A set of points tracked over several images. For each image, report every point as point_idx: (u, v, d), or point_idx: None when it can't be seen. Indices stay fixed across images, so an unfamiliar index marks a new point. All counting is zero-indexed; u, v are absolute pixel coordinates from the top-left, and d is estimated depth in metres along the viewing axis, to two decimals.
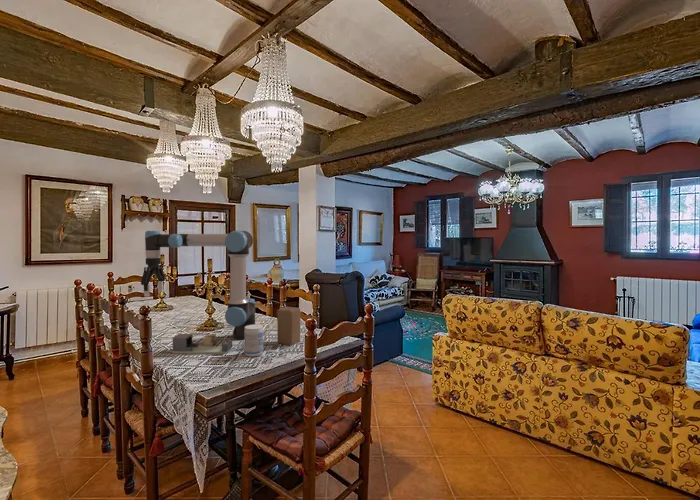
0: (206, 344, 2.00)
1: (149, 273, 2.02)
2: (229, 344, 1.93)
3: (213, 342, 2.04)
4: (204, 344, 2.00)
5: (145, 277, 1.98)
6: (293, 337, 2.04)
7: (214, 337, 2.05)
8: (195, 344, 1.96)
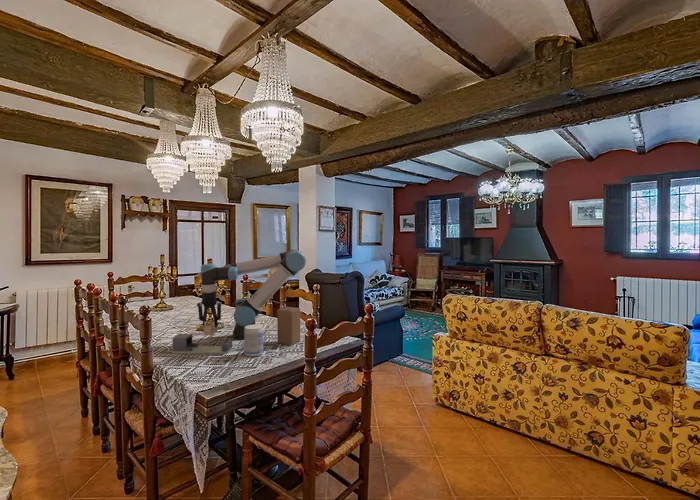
0: (207, 332, 1.99)
1: None
2: (229, 344, 1.93)
3: None
4: (205, 332, 1.99)
5: None
6: (293, 337, 2.04)
7: None
8: (195, 344, 1.96)
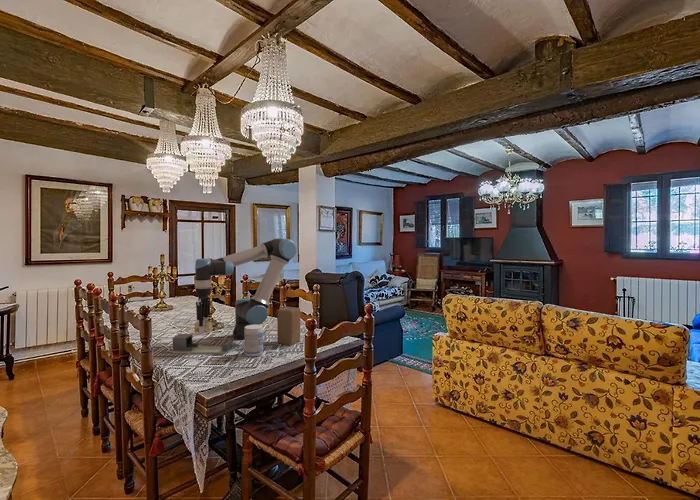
0: (210, 328, 1.93)
1: (201, 306, 1.90)
2: (229, 344, 1.93)
3: None
4: (210, 329, 1.92)
5: (199, 313, 1.86)
6: (293, 337, 2.04)
7: None
8: (195, 344, 1.96)
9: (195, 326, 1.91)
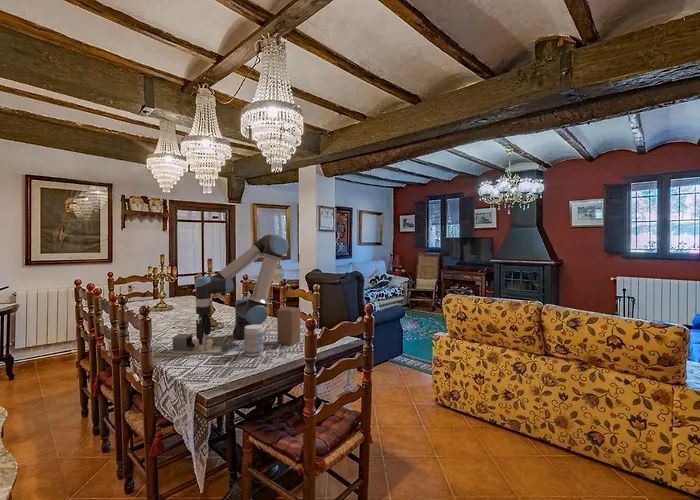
0: (211, 346, 1.93)
1: (201, 324, 1.90)
2: (229, 344, 1.93)
3: None
4: (210, 346, 1.92)
5: (199, 331, 1.87)
6: (293, 337, 2.04)
7: None
8: None
9: (195, 343, 1.91)
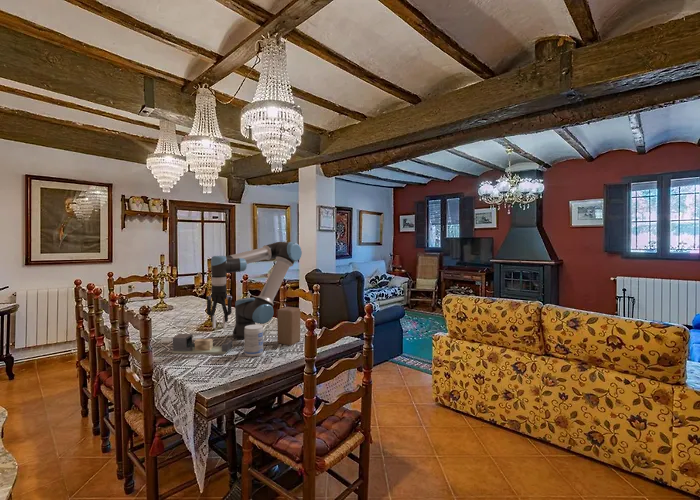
0: (211, 346, 1.93)
1: None
2: (229, 344, 1.93)
3: None
4: (210, 346, 1.92)
5: None
6: (293, 337, 2.04)
7: None
8: None
9: (195, 343, 1.91)
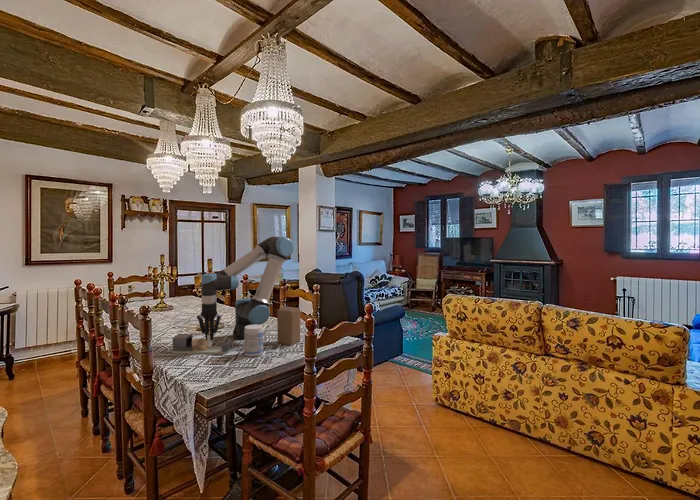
0: None
1: None
2: (229, 344, 1.93)
3: None
4: None
5: None
6: (293, 337, 2.04)
7: None
8: None
9: (192, 344, 1.91)
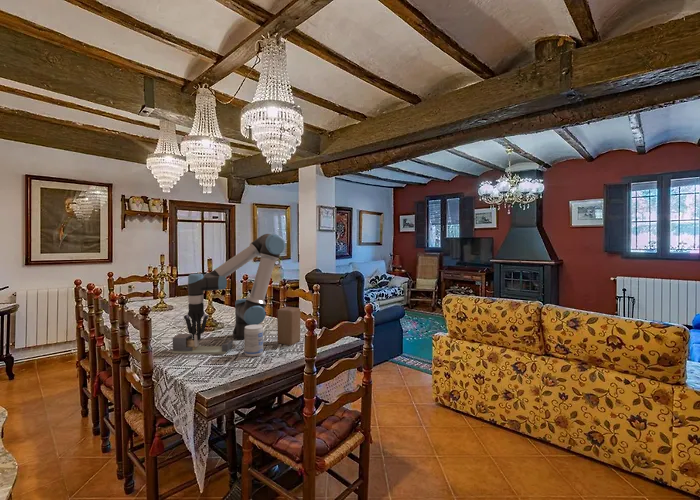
0: None
1: None
2: (229, 344, 1.93)
3: None
4: None
5: None
6: (293, 337, 2.04)
7: None
8: None
9: None
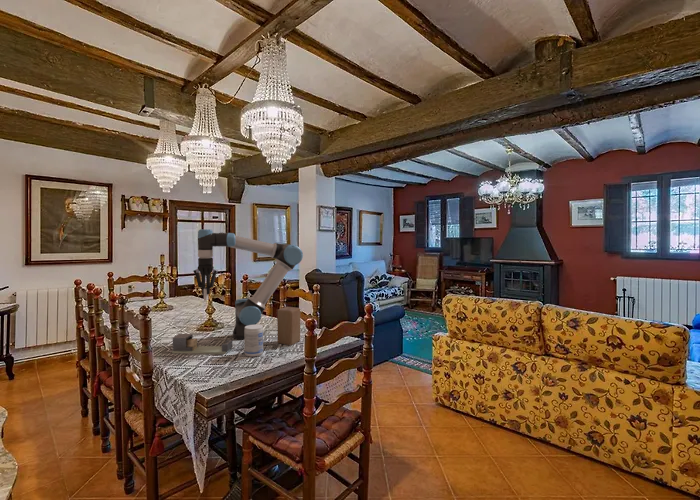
0: (195, 345, 1.93)
1: None
2: (229, 344, 1.93)
3: None
4: (194, 346, 1.92)
5: None
6: (293, 337, 2.04)
7: None
8: None
9: None
